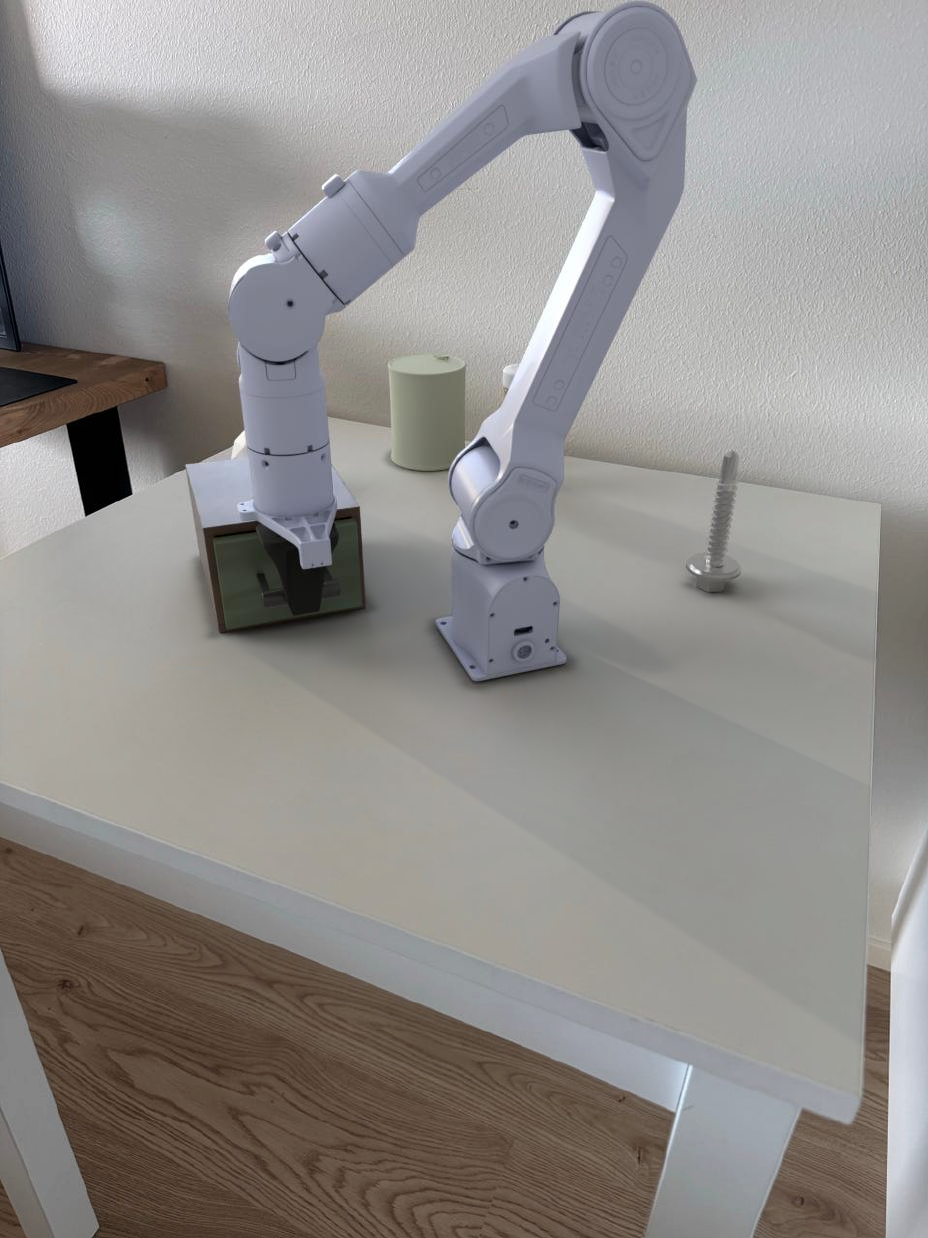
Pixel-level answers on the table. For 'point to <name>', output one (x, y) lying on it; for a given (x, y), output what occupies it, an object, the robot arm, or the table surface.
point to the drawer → (257, 584)
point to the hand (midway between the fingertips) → (305, 611)
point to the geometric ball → (240, 447)
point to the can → (427, 410)
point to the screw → (718, 534)
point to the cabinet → (217, 515)
